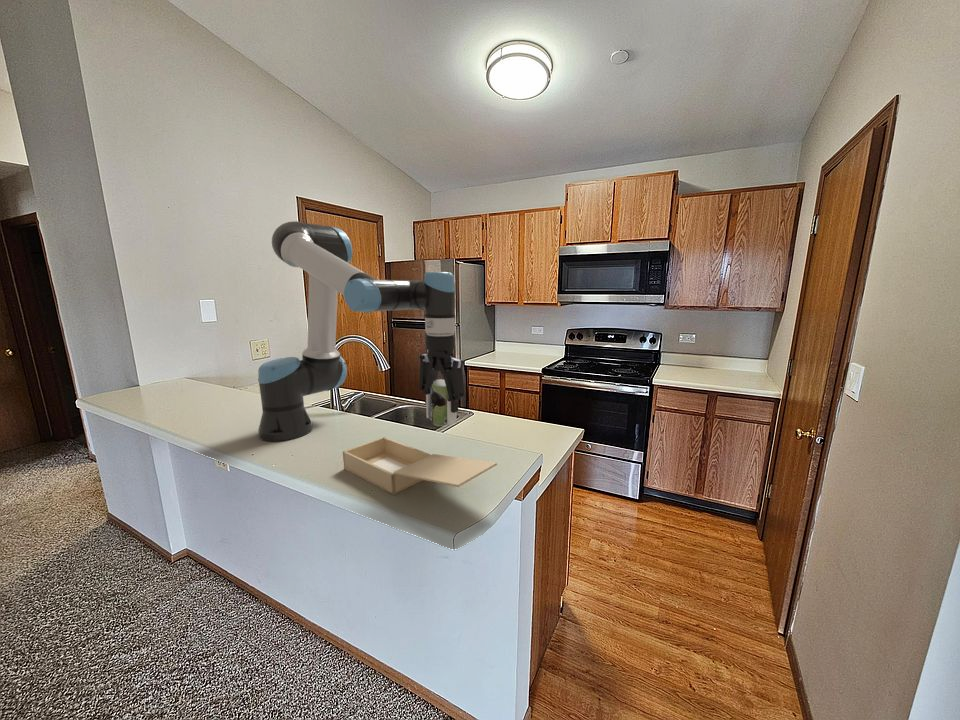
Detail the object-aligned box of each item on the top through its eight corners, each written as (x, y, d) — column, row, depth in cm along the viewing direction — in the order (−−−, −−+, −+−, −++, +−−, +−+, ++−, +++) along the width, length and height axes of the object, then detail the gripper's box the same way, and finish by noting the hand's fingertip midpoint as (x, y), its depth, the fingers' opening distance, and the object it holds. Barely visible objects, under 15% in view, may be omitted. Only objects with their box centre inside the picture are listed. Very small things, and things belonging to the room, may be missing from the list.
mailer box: (344, 468, 94) (342, 451, 93) (385, 452, 104) (384, 436, 103) (393, 495, 82) (392, 475, 81) (435, 474, 91) (434, 456, 90)
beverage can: (442, 418, 105) (441, 376, 103) (459, 424, 100) (459, 380, 98) (423, 423, 101) (422, 379, 98) (440, 431, 95) (440, 385, 93)
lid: (458, 485, 68) (458, 487, 68) (496, 462, 77) (497, 465, 77) (393, 471, 81) (394, 474, 81) (433, 454, 90) (433, 456, 90)
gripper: (403, 332, 99) (405, 415, 103) (459, 339, 87) (459, 433, 91) (424, 330, 105) (426, 409, 109) (480, 336, 92) (479, 425, 96)
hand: (441, 420), depth 100 cm, fingers closed on beverage can, 7 cm apart
